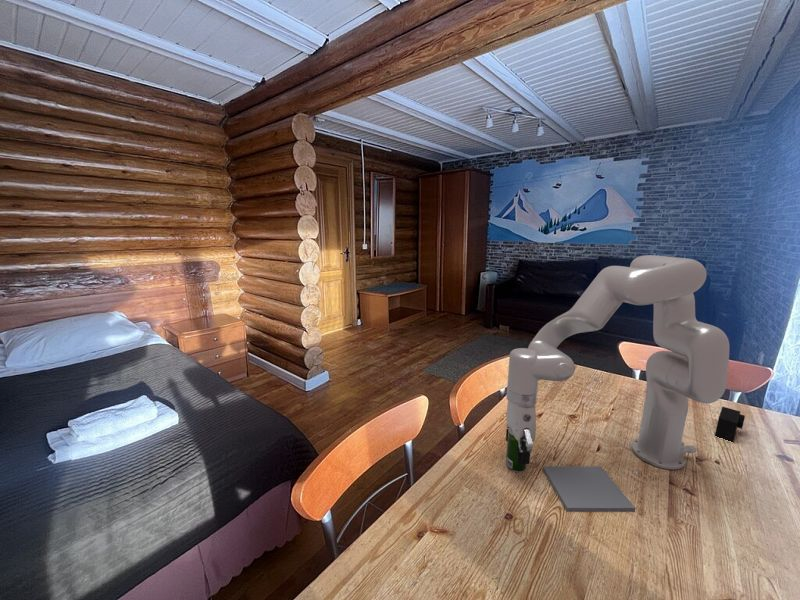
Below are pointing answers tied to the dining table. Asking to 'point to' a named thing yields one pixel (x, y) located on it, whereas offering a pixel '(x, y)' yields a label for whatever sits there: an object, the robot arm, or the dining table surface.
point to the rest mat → (587, 489)
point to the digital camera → (729, 423)
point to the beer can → (514, 453)
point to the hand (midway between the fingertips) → (516, 451)
